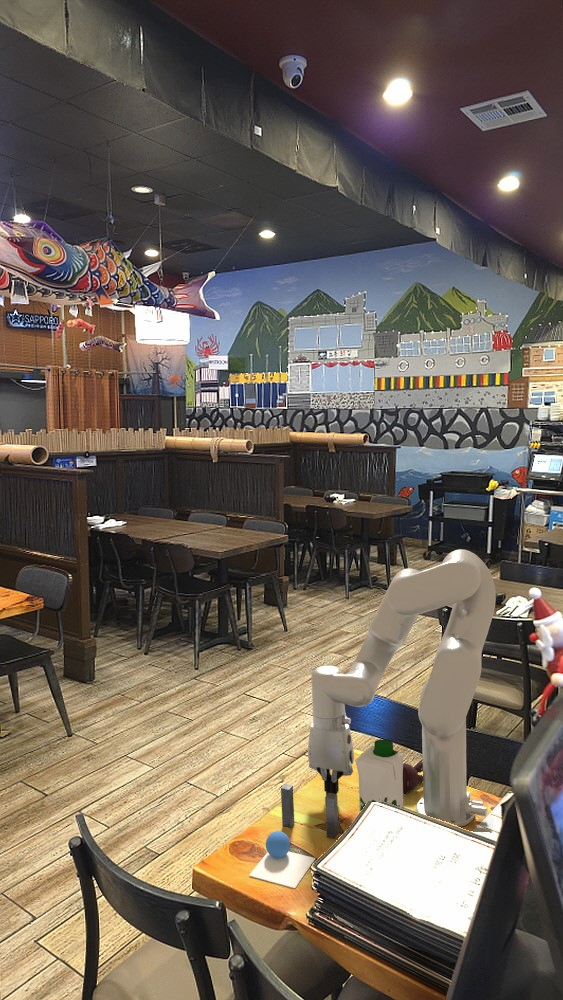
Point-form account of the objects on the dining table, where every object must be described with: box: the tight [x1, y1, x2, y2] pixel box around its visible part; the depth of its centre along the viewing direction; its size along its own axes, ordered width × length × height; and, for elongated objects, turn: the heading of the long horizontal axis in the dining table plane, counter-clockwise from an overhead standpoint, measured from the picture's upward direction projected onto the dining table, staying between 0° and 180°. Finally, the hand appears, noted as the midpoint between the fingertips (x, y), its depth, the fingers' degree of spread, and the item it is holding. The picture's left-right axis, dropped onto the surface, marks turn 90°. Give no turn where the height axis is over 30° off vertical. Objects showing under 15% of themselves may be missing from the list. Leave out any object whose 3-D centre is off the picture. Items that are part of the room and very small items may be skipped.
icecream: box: [403, 761, 423, 795], centre depth 167 cm, size 7×7×15 cm
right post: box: [324, 793, 340, 840], centre depth 150 cm, size 2×2×9 cm
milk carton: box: [354, 738, 405, 812], centre depth 148 cm, size 9×9×20 cm
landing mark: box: [248, 850, 316, 890], centre depth 140 cm, size 10×10×1 cm
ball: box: [265, 830, 291, 858], centre depth 143 cm, size 5×5×5 cm
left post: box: [280, 783, 295, 829], centre depth 154 cm, size 2×2×9 cm
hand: (331, 794), depth 164 cm, fingers closed
